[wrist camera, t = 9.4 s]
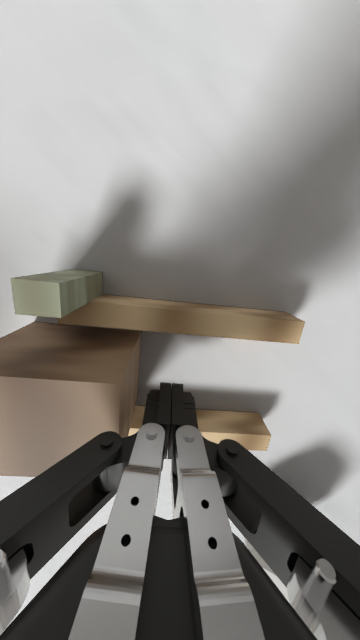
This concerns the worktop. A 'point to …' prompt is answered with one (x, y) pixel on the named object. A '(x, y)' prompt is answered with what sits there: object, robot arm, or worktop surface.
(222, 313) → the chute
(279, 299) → the worktop surface
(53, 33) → the worktop surface
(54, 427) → the block
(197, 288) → the worktop surface
